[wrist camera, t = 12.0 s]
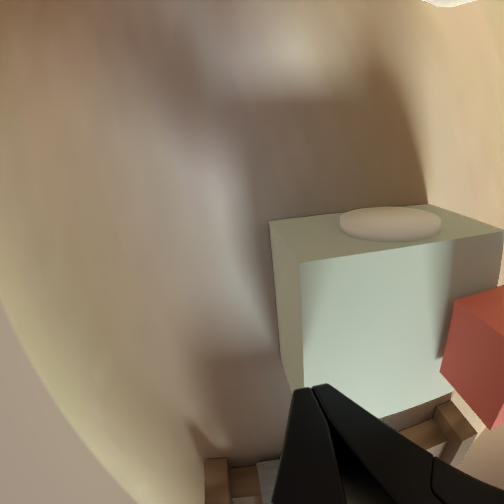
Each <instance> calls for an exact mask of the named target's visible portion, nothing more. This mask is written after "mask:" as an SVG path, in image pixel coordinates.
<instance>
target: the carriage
mask: <svg viewBox="0 0 504 504" xmlns="http://www.w3.org/2000/svg"><path fill="white" fill-rule="evenodd" d="M279 461H280V459H277V460H271V461H264V462H257V469H258V476H259V482H260V490H261V496H262V503H263V504H271V497H272V493H273V489H274V484H275V480H276V475H277V471H278V466H279Z"/></svg>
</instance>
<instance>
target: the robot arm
mask: <svg viewBox="0 0 504 504" xmlns="http://www.w3.org/2000/svg"><path fill="white" fill-rule="evenodd" d="M271 504H504V490H502V489H500V488H497V487H495V486H492V485H490V484H487V483H485V482H483V481H480V480H478V479H476V478H474V477H472V476H470V475H468V474H465V473H464V472H462V471H460V470H458V469H457V468H455V467H453V466H451V465H450V464H448V463H446V462H445V461H443V460H441V459H440V458H438V457H436V456H435V457H433V454H432V453H430V452H428V451H427V450H425V449H424V448H422V447H421V446H419V445H417V444H416V443H414V442H413V441H411V440H410V439H408V438H407V437H405V436H404V435H402V434H401V433H399V432H398V431H396V430H395V429H393V428H392V427H390V426H389V425H387V424H386V423H384V422H383V421H381V420H380V419H378V418H377V417H375V416H374V415H373V414H371V413H370V412H368V411H367V410H365V409H364V408H362V407H361V406H360V405H358V404H357V403H355V402H354V401H352V400H351V399H350V398H348V397H347V396H345V395H344V394H343V393H341V392H340V391H338V390H337V389H336V388H334V387H333V386H331V385H330V384H328V383H325V384H320V385H315V386H312V387H311V388H310V387H304V388H299V389H295V390H294V391H293V394H292V400H291V406H290V411H289V416H288V422H287V427H286V432H285V437H284V442H283V447H282V452H281V457H280V461H279V466H278V471H277V475H276V480H275V484H274V489H273V493H272V497H271Z"/></svg>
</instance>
